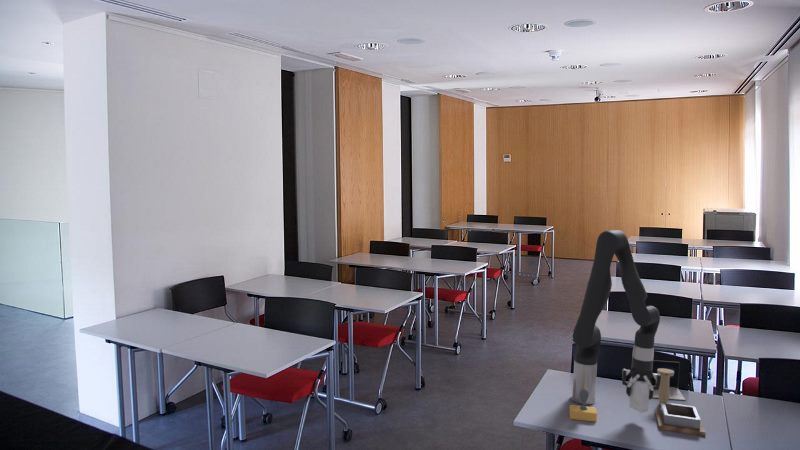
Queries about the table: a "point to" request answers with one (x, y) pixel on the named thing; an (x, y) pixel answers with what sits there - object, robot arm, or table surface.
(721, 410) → the table surface
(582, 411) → the rubber stamp
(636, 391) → the skincare box
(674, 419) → the socket board
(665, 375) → the handle
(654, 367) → the laptop
